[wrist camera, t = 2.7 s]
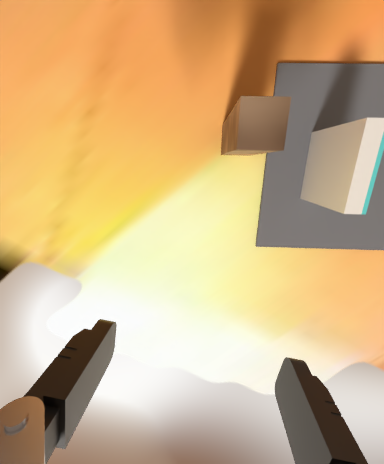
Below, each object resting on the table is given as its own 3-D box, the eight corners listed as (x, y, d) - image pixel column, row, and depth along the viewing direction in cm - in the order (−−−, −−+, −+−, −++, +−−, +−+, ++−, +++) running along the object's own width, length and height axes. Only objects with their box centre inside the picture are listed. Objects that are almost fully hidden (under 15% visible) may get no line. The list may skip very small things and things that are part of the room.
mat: (277, 64, 24) (278, 62, 24) (440, 65, 24) (444, 64, 24) (255, 245, 31) (256, 246, 31) (382, 249, 31) (384, 250, 30)
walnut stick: (222, 124, 26) (240, 95, 15) (251, 125, 26) (291, 96, 15) (220, 154, 27) (236, 149, 16) (248, 155, 27) (283, 150, 16)
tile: (311, 132, 26) (367, 117, 17) (328, 132, 26) (392, 117, 17) (300, 198, 28) (343, 213, 20) (315, 198, 28) (365, 214, 20)
